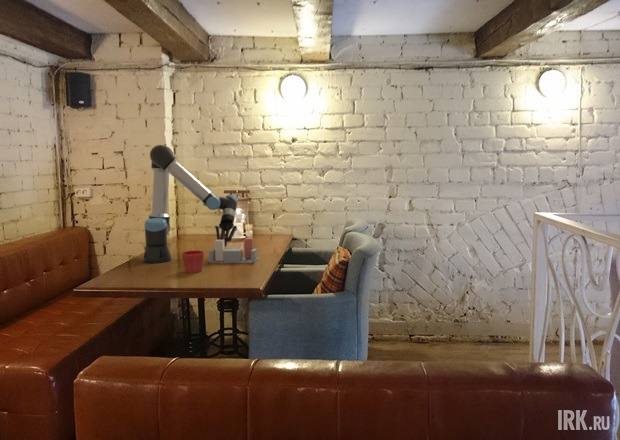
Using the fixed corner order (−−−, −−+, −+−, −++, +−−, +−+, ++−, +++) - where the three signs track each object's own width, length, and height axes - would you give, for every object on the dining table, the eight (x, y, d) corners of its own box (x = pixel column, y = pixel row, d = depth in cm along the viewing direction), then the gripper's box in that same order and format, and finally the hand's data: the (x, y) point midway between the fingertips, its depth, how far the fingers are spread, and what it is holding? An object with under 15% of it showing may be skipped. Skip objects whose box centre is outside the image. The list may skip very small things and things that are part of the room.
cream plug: (215, 260, 276) (214, 240, 274) (217, 259, 280) (216, 239, 278) (223, 260, 275) (222, 240, 274) (225, 259, 279) (224, 239, 278)
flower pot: (199, 273, 247) (198, 254, 246) (178, 273, 249) (177, 253, 248) (208, 269, 258) (207, 250, 256) (188, 268, 260) (187, 250, 259)
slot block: (209, 263, 274) (209, 251, 273) (215, 258, 286) (215, 247, 285) (254, 263, 272) (254, 250, 271) (259, 258, 284) (258, 247, 283)
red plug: (244, 258, 280) (244, 239, 279) (246, 257, 284) (245, 237, 283) (252, 258, 280) (251, 239, 278) (253, 257, 284) (253, 237, 283)
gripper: (215, 213, 292) (208, 246, 278) (237, 213, 291) (232, 246, 277) (218, 221, 298) (211, 254, 284) (240, 221, 297) (234, 254, 283)
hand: (221, 250), depth 280 cm, fingers closed
